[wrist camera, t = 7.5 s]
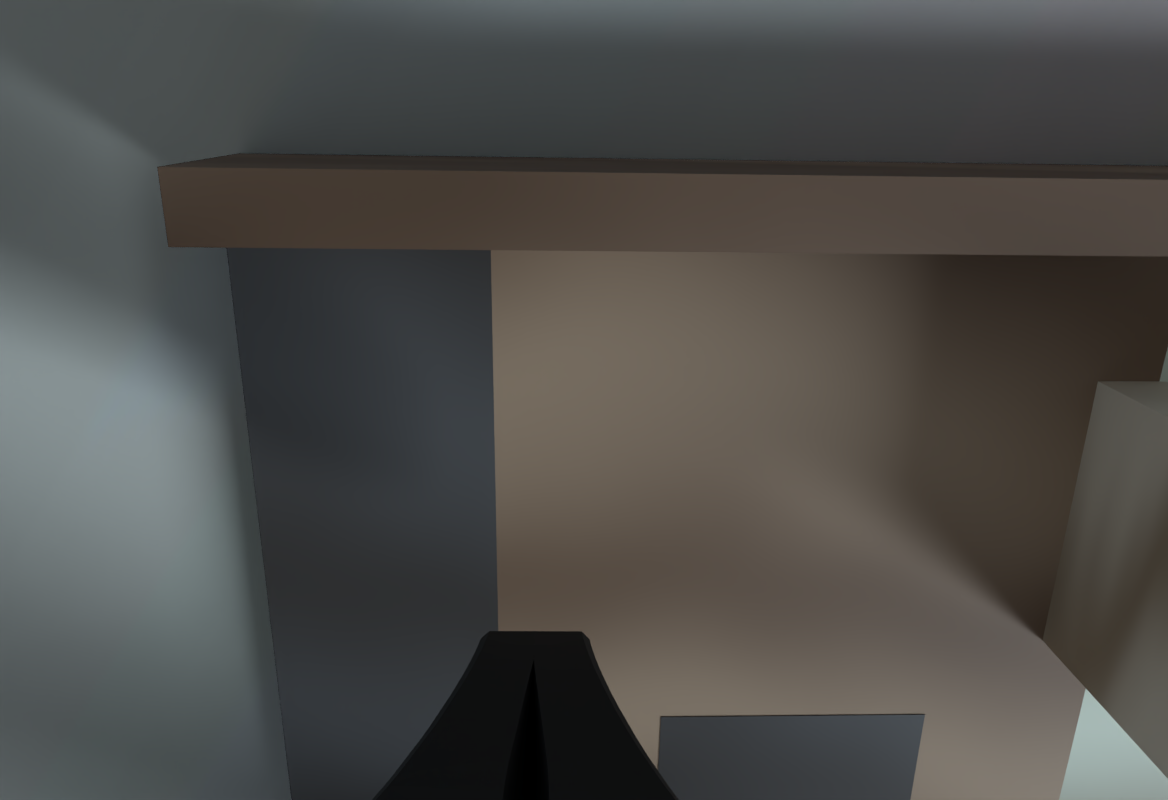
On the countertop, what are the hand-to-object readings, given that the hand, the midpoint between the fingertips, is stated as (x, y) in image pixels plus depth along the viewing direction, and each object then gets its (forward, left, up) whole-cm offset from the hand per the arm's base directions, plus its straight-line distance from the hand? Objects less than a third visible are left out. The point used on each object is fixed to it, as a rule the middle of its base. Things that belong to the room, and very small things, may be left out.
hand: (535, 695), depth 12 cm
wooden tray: (-1, -7, -5) cm, 9 cm away
